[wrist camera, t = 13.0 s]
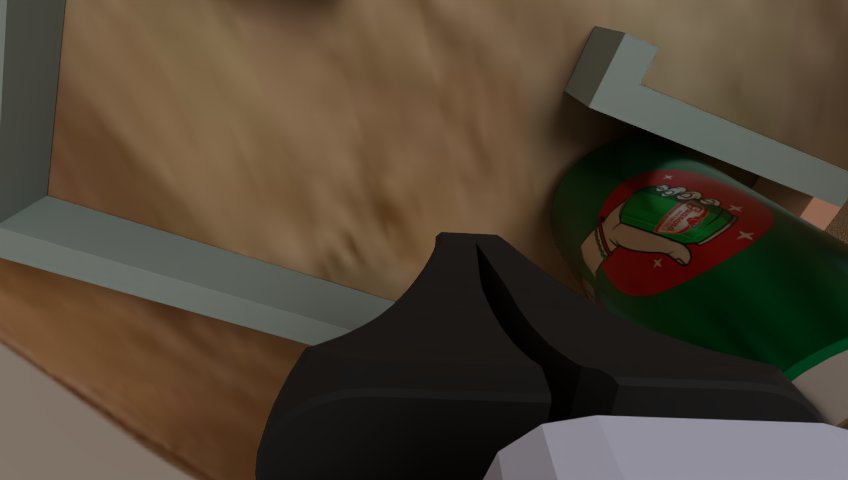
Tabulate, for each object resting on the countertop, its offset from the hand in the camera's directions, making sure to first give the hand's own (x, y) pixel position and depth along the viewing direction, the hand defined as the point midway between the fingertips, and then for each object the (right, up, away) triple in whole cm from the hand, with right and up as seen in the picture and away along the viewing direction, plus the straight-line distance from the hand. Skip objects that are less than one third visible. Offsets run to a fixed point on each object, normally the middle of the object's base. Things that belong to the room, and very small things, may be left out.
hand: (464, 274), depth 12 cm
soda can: (+6, +2, +7) cm, 9 cm away
